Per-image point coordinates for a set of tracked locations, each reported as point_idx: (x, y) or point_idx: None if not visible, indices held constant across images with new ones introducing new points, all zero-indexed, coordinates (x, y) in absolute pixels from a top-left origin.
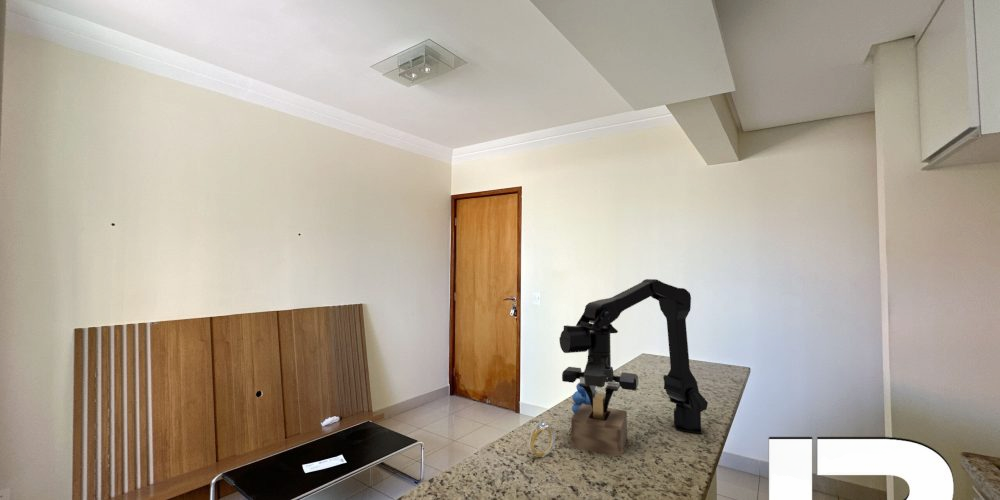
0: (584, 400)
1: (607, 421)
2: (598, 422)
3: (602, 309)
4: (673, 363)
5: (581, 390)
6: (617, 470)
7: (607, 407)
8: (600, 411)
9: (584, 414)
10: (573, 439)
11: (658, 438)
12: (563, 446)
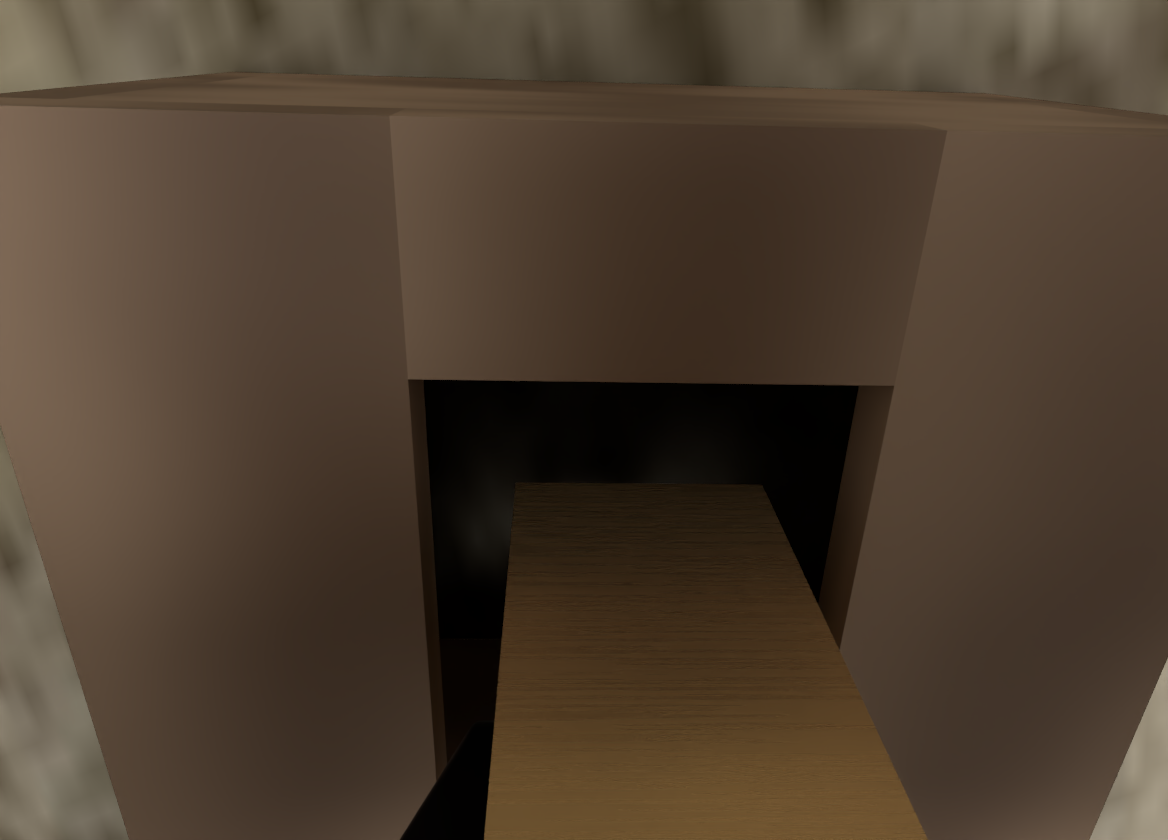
0: None
1: (364, 350)
2: (583, 175)
3: None
4: None
5: None
6: None
7: (405, 836)
8: (585, 604)
9: (984, 566)
10: (1013, 100)
11: (3, 771)
12: (1105, 67)
